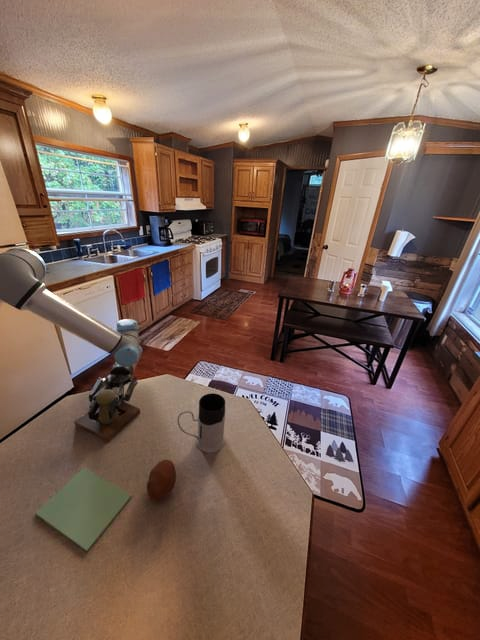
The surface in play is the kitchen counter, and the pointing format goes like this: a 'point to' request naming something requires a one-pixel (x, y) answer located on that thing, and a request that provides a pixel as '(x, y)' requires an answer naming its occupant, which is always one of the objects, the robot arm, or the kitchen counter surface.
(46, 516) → the mat
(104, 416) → the cork
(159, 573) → the kitchen counter surface
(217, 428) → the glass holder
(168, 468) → the potato
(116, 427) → the frame
